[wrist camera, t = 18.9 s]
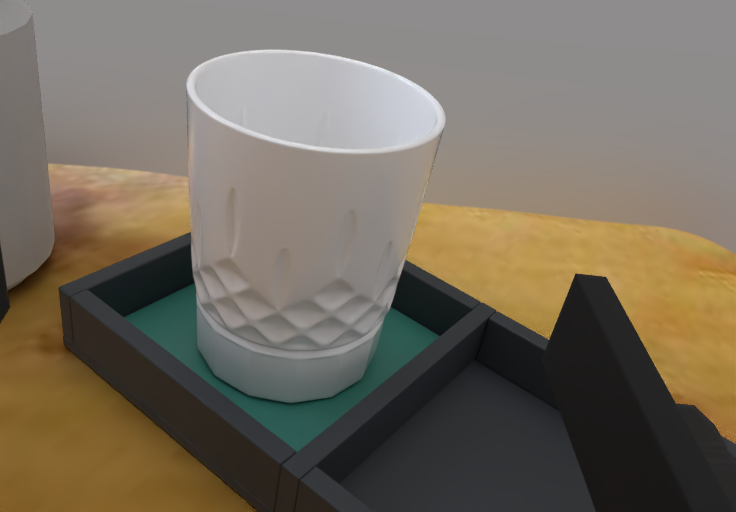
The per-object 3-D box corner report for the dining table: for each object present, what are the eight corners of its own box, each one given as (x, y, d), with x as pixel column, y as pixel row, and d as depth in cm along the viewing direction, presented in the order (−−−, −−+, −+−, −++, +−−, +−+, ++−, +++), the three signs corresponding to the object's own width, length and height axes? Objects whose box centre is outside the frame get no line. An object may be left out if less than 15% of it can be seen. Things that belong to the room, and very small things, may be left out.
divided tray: (63, 345, 26) (57, 286, 24) (279, 240, 34) (284, 191, 33) (631, 830, 16) (678, 781, 15) (744, 520, 24) (782, 468, 23)
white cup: (296, 259, 32) (325, 39, 26) (429, 356, 28) (495, 119, 22) (138, 324, 26) (133, 65, 21) (273, 456, 22) (310, 177, 17)
